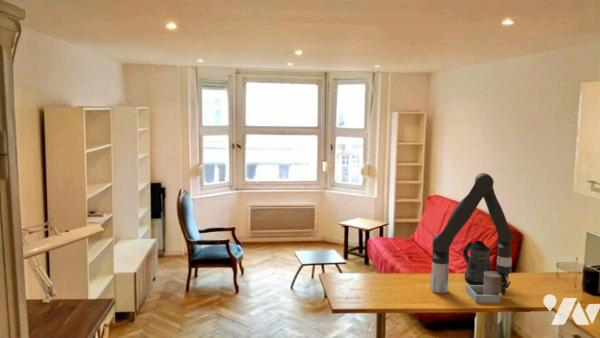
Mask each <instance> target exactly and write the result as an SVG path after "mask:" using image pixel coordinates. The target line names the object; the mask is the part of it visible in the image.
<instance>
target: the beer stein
mask: <svg viewBox="0 0 600 338" xmlns="http://www.w3.org/2000/svg"><path fill="white" fill-rule="evenodd" d="M468 251H469V252H468ZM491 252H492V251H491V248H490V247H489V246H487V245H486V244H485V243H484V241H482V240H474V242H473V241H470V242H468V243H467V245H465V246H463V249H462V256H463V259H464V262H465V263H466V264H467V267H466V269H465V273H464V280H465V282H466V283H467V284H468V285H483V284H484V272H486V271H492V267H491V261H490V259H491V258H490V254H491ZM468 253H469V254H468Z"/></svg>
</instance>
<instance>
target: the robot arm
mask: <svg viewBox="0 0 600 338" xmlns="http://www.w3.org/2000/svg"><path fill="white" fill-rule="evenodd" d="M494 184H495V183H494V178H493V177H492V176H491V175H490V174H488V173H479V174H478V175H476V176H475V179H474V184H473V186H472V187H471V189H470V191H469V192H468V194H467V195H466V196H465V197H464V198H463V199H462V200H461V201H459V203H458V204H457V205H456V206H455V208H454V210H453V211H452V212H451V214H450V216H449V218H448V220H447V223H446V225H445V227H444V228H443V229H442V231H441V232H440V233H437V234H436V235H434V237H433V238H432V255H431V256H432V257H431V259H432V261H431V273H430V283H429V285H430V288H429V289H430V290H431V292H432V293H435V294H446V293H448V292H449V269H450V247H451V245H452V243H453V241H454V240H455V238H456V236H457V235H458V234H459V232H460V231H461V230H462V229H463V227H465V225H466V223H467V222H468V221H469V220H470V218H471V217H472V216H473V214H474V212H475V211H476V209H477V208H478V205H479V204H480V202H481V201H482V200H483V199H484V202H485V205H486V208H487V210H488V214H489V216H490V218H491V221H492V223H493V226H494V227H495V230H496V233H497V255H496V265H495V266H496V270H495V272H498V273H501V274H502V295H506V289H508V288H509V287H510V285H511V281H510V280H509V275H510V274H511V273H512V261H513V260H512V244H511V243H512V240H513V237H514V236H513V232H512V230H511V228H510V226H509V224H508V221H507V218H506V215H505V213H504V211H503V208H502V206H501V204H500V202H499V200H498V198H497V196H496V193H495V190H494Z"/></svg>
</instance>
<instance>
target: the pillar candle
mask: <svg viewBox="0 0 600 338" xmlns="http://www.w3.org/2000/svg"><path fill="white" fill-rule="evenodd" d="M499 293H502V274H501V273H498V272H497V271H496V270H493V271H492V270H491V271H486V272H484V284H483V293H482V295H499Z"/></svg>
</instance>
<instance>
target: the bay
mask: <svg viewBox="0 0 600 338" xmlns="http://www.w3.org/2000/svg"><path fill="white" fill-rule="evenodd" d="M465 293H466V294H467V295H468V296H469V297H470V298H471V299H472V300H473V302H474V303H477V304H484V303H485V304H501V303H502V299H503V298H502V296H503V294H502V293H499V295H483V285H472V284H466V285H465ZM478 293H479V294H478ZM480 293H481V294H480Z"/></svg>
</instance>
